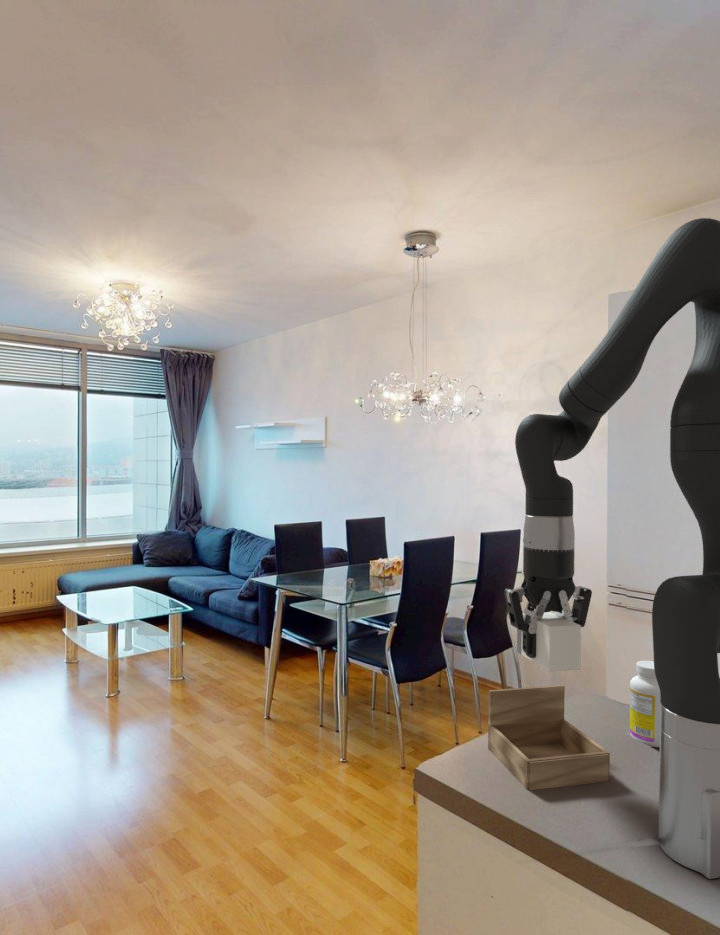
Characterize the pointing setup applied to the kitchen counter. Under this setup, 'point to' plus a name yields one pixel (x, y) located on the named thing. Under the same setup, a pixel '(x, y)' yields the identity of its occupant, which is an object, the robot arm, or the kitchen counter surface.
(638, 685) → the supplement bottle
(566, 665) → the capped box
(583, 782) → the wooden box
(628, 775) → the kitchen counter surface
